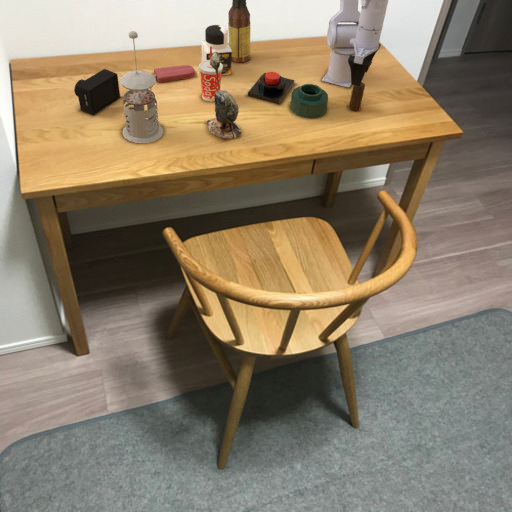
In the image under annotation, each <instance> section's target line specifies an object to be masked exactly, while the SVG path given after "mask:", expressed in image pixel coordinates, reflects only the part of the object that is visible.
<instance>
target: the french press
mask: <svg viewBox="0 0 512 512" xmlns="http://www.w3.org/2000/svg"><path fill="white" fill-rule="evenodd" d="M138 37H139V36H138V33H137V31H135V30H131V31H129V33H128V38H129V39H131V40H132V44H133V51H134V53H133V54H134V61H135V70H132V71H128V72H126V73H124V74H123V75H122V76H120V78H119V80H118V83H120V85H121V86H122V87H123V88H124V89H126V90H127V91H126V92H125V93H124V94H123V100H122V107H123V113H124V121H125V122H124V123H125V126H124V127H123V129H122V135H123V137H124V139H126V140H127V141H129V142H130V143H131V142H132V143H135V144H149V143H153V142H155V141H158V140H159V139H160V138H161V137H162V136H163V135H164V128H163V126H162V125H160V123H159V112H158V109H159V108H158V101H157V99H156V94H155V93H154V91H153V90H152V89H153V87H155V85H156V82H157V78H156V77H154V74H152V73H150V72H148V71H144V70H139V69H138V65H137V55H136V46H135V45H136V44H135V39H138ZM128 106H130V107H128ZM131 106H132V107H131ZM145 106H146V107H147V108H146V109H145Z"/></svg>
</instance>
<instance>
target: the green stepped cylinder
mask: <svg viewBox="0 0 512 512" xmlns="http://www.w3.org/2000/svg"><path fill="white" fill-rule="evenodd" d="M328 102H329V94H328V93H327V92H326V91H325V89H323V88H321V86H319V85H317V84H313V83H304V84H302V85H299V86H296V87H295V88H294V89H292V91H291V95H290V107H289V108H290V111H291V112H292V113H293V114H295V115H296V116H298V117H300V118H305V119H315V118H316V119H317V118H320V117H322V116H324V115H325V114H326V112H327V108H328Z"/></svg>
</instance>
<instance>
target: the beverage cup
mask: <svg viewBox="0 0 512 512" xmlns="http://www.w3.org/2000/svg"><path fill="white" fill-rule="evenodd" d="M211 56H212V47H211V46H210V57H211ZM210 60H211V59H210ZM210 60H205V61H202V60H201V61H200V62H199V64H198V70H199V73H200V82H201V83H200V87H201V98H202V99H203V101H206V102H212V103H213V102H215V99H214V98H215V96H214V95H215V93H216V92H217V91H218V90H219V89H218V81H217V76H216V70H215V69H214V68H213V67H212V66H211V64H210ZM222 68H223V65H222V64H221V63H220V67H219V68H218V80H219V88H220V89H221V83H222V75H221V72H222V70H223V69H222Z"/></svg>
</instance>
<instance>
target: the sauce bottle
mask: <svg viewBox="0 0 512 512" xmlns="http://www.w3.org/2000/svg"><path fill="white" fill-rule="evenodd" d="M227 16H228V23H227V27H228V28H227V30H228V44H229V46H230V48H231V50H232V62H235V63H245V62H247V61H249V60H250V57H251V13H250V11H249V8H248V6H247V0H232V2H231V7H230V8H229V10H228V15H227Z"/></svg>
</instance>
